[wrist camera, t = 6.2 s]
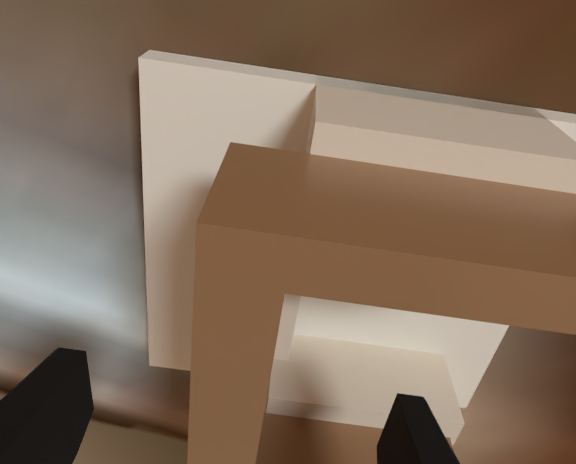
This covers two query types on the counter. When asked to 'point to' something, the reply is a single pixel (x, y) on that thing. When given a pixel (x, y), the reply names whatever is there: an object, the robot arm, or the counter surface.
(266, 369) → the tan c-shaped bracket
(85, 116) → the counter surface
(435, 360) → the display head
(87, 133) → the counter surface
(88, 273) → the counter surface
